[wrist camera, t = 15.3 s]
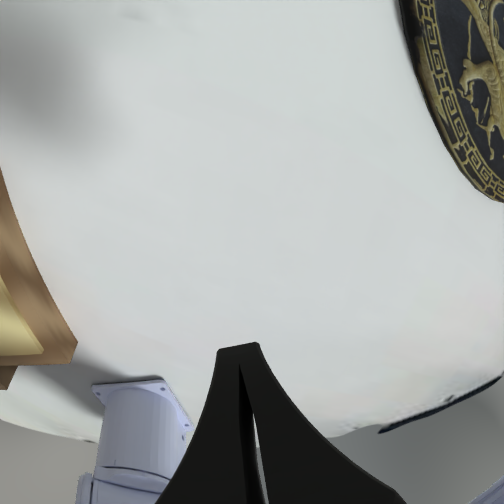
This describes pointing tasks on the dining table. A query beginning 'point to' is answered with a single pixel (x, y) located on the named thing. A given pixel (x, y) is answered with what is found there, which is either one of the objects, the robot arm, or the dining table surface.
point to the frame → (27, 302)
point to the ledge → (6, 376)
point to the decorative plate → (463, 81)
